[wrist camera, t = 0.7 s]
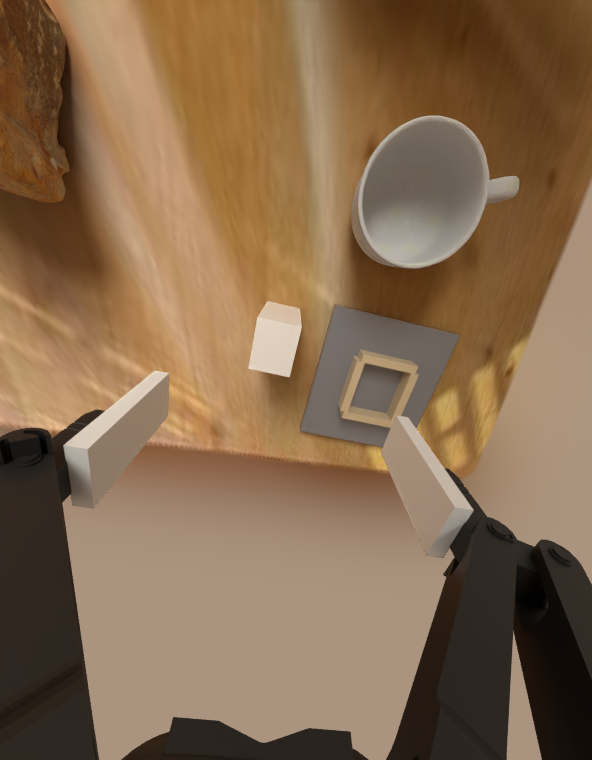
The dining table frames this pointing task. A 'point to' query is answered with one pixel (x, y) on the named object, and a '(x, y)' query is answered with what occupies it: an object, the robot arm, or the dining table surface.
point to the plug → (276, 339)
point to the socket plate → (373, 375)
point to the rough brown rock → (31, 100)
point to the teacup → (424, 193)
